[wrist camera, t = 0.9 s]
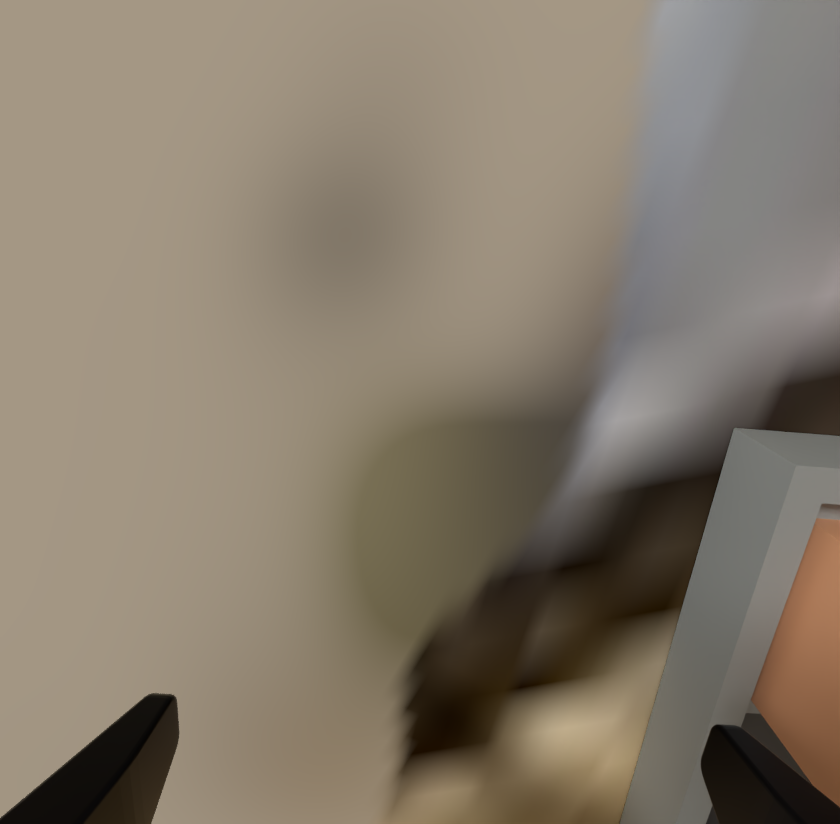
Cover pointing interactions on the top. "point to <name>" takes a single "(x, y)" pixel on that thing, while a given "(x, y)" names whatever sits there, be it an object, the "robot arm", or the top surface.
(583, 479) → the top surface
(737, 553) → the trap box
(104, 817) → the robot arm
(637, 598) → the top surface
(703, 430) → the top surface
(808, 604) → the block
